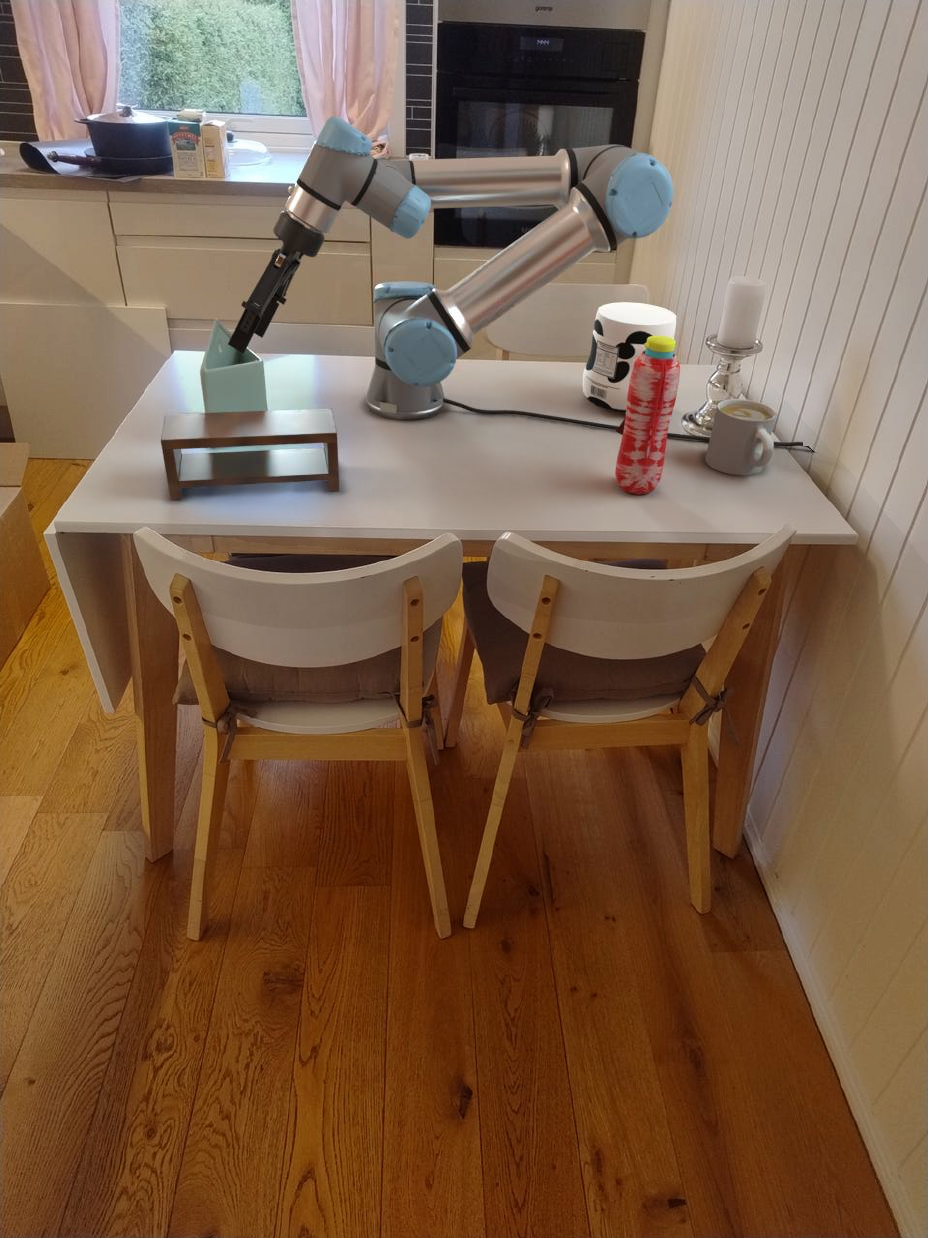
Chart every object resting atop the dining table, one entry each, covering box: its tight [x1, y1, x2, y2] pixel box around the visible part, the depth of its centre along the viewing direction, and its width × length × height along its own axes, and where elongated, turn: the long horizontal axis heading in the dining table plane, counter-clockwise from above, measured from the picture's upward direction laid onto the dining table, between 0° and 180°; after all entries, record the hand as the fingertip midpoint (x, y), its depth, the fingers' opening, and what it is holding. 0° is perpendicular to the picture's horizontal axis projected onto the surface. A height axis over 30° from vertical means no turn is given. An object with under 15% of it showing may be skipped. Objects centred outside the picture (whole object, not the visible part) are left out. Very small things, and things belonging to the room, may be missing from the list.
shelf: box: [160, 408, 341, 501], centre depth 138 cm, size 26×10×10 cm, turn 102°
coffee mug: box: [705, 398, 777, 476], centre depth 151 cm, size 13×10×10 cm
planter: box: [199, 318, 269, 413], centre depth 151 cm, size 16×8×20 cm, turn 170°
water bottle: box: [614, 335, 681, 495], centre depth 140 cm, size 12×8×25 cm, turn 0°
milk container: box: [582, 301, 677, 414], centre depth 171 cm, size 17×17×18 cm
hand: (246, 340), depth 145 cm, fingers open, 13 cm apart
